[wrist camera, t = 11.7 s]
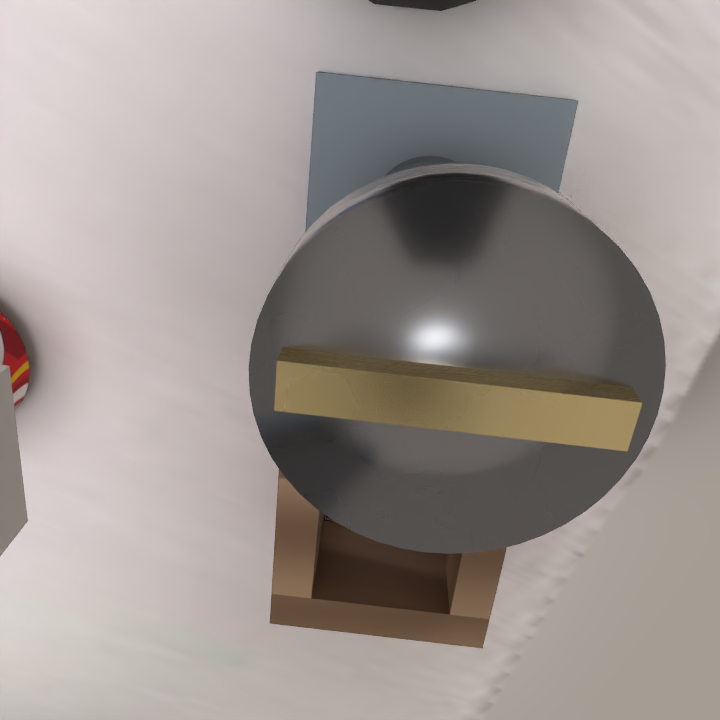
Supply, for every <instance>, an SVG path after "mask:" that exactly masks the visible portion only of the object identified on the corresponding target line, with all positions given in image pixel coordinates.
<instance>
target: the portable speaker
mask: <svg viewBox="0 0 720 720" xmlns="http://www.w3.org/2000/svg"><path fill="white" fill-rule="evenodd" d="M369 1H370V2H372V3H374V4H379V5H389V6H398V7H408V8H418V9H428V10H438V11H443V10H446V9H449V8H453V7H456V6H459V5H463V4H466V3H469V2H473V1H476V0H369Z"/></svg>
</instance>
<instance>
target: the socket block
mask: <svg viewBox="0 0 720 720" xmlns="http://www.w3.org/2000/svg"><path fill="white" fill-rule="evenodd" d="M506 548H507V547H504V548H500V549H496V550H489V551H482V552H475V553H456V554H443V553H428V552H420V551H414V550H408V549H402V548H398V547H394V546H391V545H387V544H384V543H380V542H377V541H374V540H372V539H369V538H367V537H364V536H362V535H360V534H357V533H355V532H353V531H351V530H349V529H347V528H346V527H344V526H342V525H340V524H338V523H336V522H334V521H326V520H324V514H323V513H322V512H320V511H319V510H317V509H316V508H315V507H314V506H313V505H312V504H311V503H309V502H308V501H307V500H306V499H305V498H304V497H303V496H302V495H300V494H299V493H298V491H297V490H296V489H295V488H294V487H293V486H292V485H291V483H290V482H289V481H288V480H287V479H286V478H285V477H284V475H283V474H282V472H281V471H280V469H279V479H278V495H277V512H276V529H275V546H274V563H273V580H272V596H271V613H270V623H271V624H280V625H289V626H297V627H306V628H314V629H323V630H331V631H340V632H348V633H357V634H365V635H374V636H382V637H391V638H399V639H408V640H416V641H425V642H434V643H442V644H451V645H459V646H468V647H476V648H483V644H484V640H485V636H486V631H487V627H488V623H489V619H490V615H491V611H492V606H493V602H494V598H495V594H496V590H497V586H498V581H499V577H500V573H501V569H502V565H503V560H504V556H505V552H506Z"/></svg>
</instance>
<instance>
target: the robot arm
mask: <svg viewBox="0 0 720 720" xmlns="http://www.w3.org/2000/svg"><path fill="white" fill-rule="evenodd" d="M27 521H28V519H27V511H26V503H25V494H24V486H23V477H22V469H21V460H20V452H19V443H18V435H17V427H16V418H15V410H14V401H13V393H12V384H11V376H10V367H9V366H7V365H0V556H1V555H2V553H3V552H4V551H5V550H6V548H7V547H8V546H9V544H10V543H11V542H12V541H13V539H14V538H15V537H16V535H17V534H18V533H19V532H20V530H21V529H22V528H23V526H24V525H25V524H26V523H27Z"/></svg>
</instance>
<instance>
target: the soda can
mask: <svg viewBox="0 0 720 720" xmlns="http://www.w3.org/2000/svg"><path fill="white" fill-rule="evenodd" d="M0 365H7V366H9V367H10V376H11V384H12V393H13V401H14V410H15V409H16V408H17V407H18V405H19V404H20V403H21V401H22V400H23V398H24V396H25V394H26V391H27V387H28V383H29V372H30V370H29V362H28V357H27V353H26V350H25V347H24V345H23V343H22V340H21V338H20V336H19V334H18V333H17V331H16V330H15V328H14V327H13V325H12V324H11V323H10V321H9V320H8V319H7V318H6V317H5V316H4V314H3V313H2V312H0Z"/></svg>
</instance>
